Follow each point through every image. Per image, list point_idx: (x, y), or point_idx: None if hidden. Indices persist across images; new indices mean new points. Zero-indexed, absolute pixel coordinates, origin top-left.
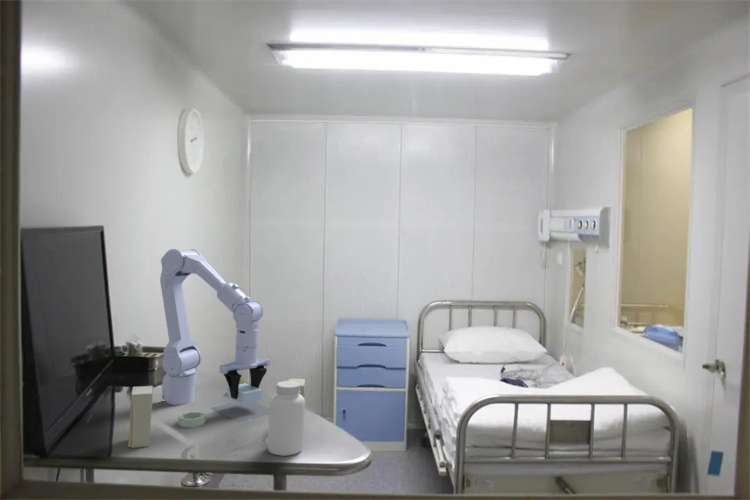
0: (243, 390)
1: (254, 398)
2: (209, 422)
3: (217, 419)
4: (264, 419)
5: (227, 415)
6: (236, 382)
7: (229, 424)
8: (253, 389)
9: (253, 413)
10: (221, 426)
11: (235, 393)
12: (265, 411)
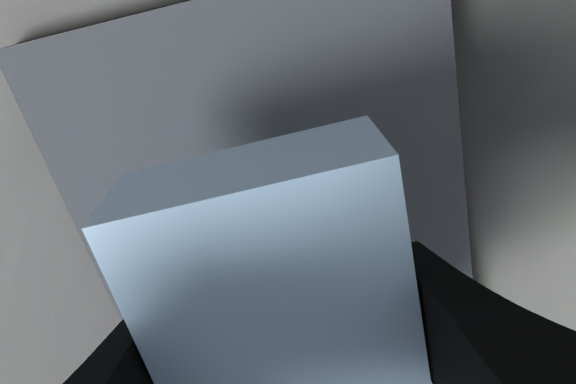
0: (340, 292)
1: (217, 159)
2: (568, 152)
3: (491, 187)
4: (156, 8)
5: (455, 151)
6: (553, 347)
7: (470, 35)
8: (195, 287)
9: (236, 100)
10: (544, 20)
11: (449, 266)
12: (112, 103)
